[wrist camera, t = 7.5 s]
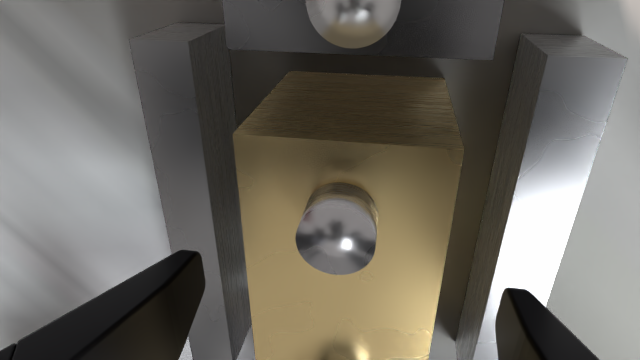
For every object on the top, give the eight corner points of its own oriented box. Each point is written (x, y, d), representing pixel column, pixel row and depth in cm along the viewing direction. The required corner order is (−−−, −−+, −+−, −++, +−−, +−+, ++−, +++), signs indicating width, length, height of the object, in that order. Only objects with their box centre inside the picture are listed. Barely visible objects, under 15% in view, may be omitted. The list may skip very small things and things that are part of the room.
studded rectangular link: (476, 421, 15) (491, 524, 12) (229, 381, 16) (195, 466, 13) (647, -189, 7) (785, -266, 4) (148, -170, 8) (32, -219, 6)
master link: (412, 308, 13) (414, 477, 9) (297, 293, 14) (250, 447, 9) (443, 76, 10) (472, 175, 6) (291, 69, 10) (213, 155, 6)
